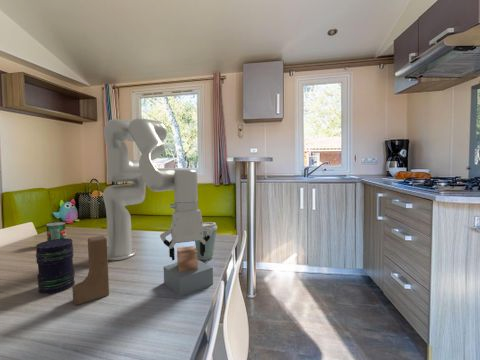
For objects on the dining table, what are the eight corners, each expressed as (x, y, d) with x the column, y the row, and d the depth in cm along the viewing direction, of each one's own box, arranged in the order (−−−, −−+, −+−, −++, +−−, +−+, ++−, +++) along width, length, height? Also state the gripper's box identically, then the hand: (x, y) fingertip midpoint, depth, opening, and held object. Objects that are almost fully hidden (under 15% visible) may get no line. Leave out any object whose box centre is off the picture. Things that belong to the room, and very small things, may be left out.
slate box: (180, 297, 76) (179, 278, 75) (164, 283, 85) (163, 266, 84) (213, 284, 83) (212, 267, 83) (194, 273, 92) (194, 257, 92)
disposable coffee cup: (187, 259, 105) (186, 224, 105) (202, 251, 115) (202, 219, 114) (208, 263, 101) (207, 227, 100) (222, 255, 110) (221, 221, 109)
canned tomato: (69, 243, 129) (68, 222, 128) (51, 248, 122) (50, 226, 121) (62, 241, 133) (61, 221, 132) (44, 245, 126) (43, 224, 126)
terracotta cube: (179, 272, 80) (178, 253, 79) (177, 265, 85) (176, 247, 85) (197, 269, 82) (197, 251, 81) (194, 262, 87) (194, 245, 87)
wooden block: (74, 306, 71) (71, 244, 70) (72, 299, 74) (69, 240, 73) (109, 295, 77) (107, 238, 76) (106, 289, 80) (103, 235, 79)
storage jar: (45, 297, 76) (42, 249, 75) (32, 289, 81) (30, 244, 80) (80, 284, 84) (78, 241, 83) (67, 277, 89) (64, 236, 88)
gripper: (159, 210, 76) (161, 265, 77) (214, 206, 82) (215, 257, 83) (158, 206, 83) (160, 256, 84) (209, 203, 89) (210, 250, 90)
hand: (187, 256), depth 83 cm, fingers open, 9 cm apart
